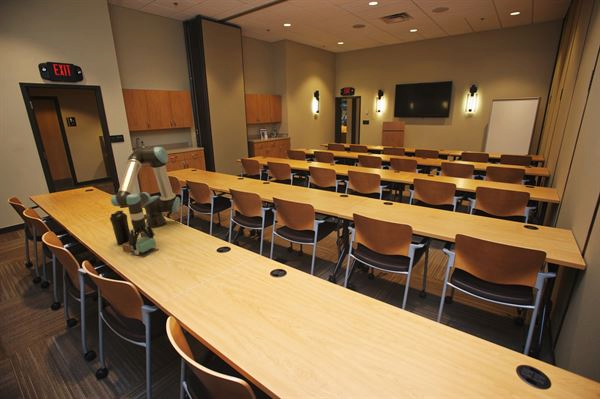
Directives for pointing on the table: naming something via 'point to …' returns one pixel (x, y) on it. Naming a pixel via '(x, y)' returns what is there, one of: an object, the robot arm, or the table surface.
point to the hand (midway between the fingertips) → (144, 250)
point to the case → (127, 248)
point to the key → (147, 218)
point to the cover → (145, 244)
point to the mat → (146, 253)
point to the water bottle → (120, 227)
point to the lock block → (144, 235)
